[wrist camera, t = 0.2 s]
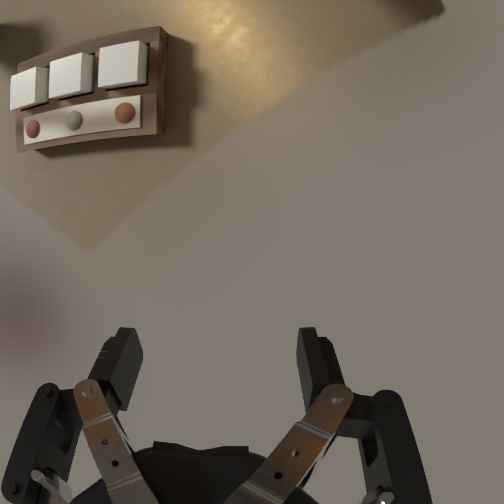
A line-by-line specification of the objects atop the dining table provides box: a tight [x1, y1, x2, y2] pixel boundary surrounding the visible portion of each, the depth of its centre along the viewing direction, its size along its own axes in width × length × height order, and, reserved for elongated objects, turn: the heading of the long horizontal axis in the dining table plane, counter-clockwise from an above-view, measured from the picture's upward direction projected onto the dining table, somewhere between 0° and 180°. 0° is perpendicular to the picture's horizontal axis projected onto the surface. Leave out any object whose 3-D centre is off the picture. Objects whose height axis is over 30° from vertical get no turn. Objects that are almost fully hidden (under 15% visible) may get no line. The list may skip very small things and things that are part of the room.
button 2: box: [49, 53, 95, 98], centre depth 27 cm, size 5×5×4 cm
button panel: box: [16, 26, 168, 153], centre depth 30 cm, size 14×23×4 cm, turn 88°
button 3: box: [10, 67, 50, 110], centre depth 27 cm, size 5×5×4 cm
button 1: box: [98, 41, 149, 89], centre depth 27 cm, size 5×5×4 cm
